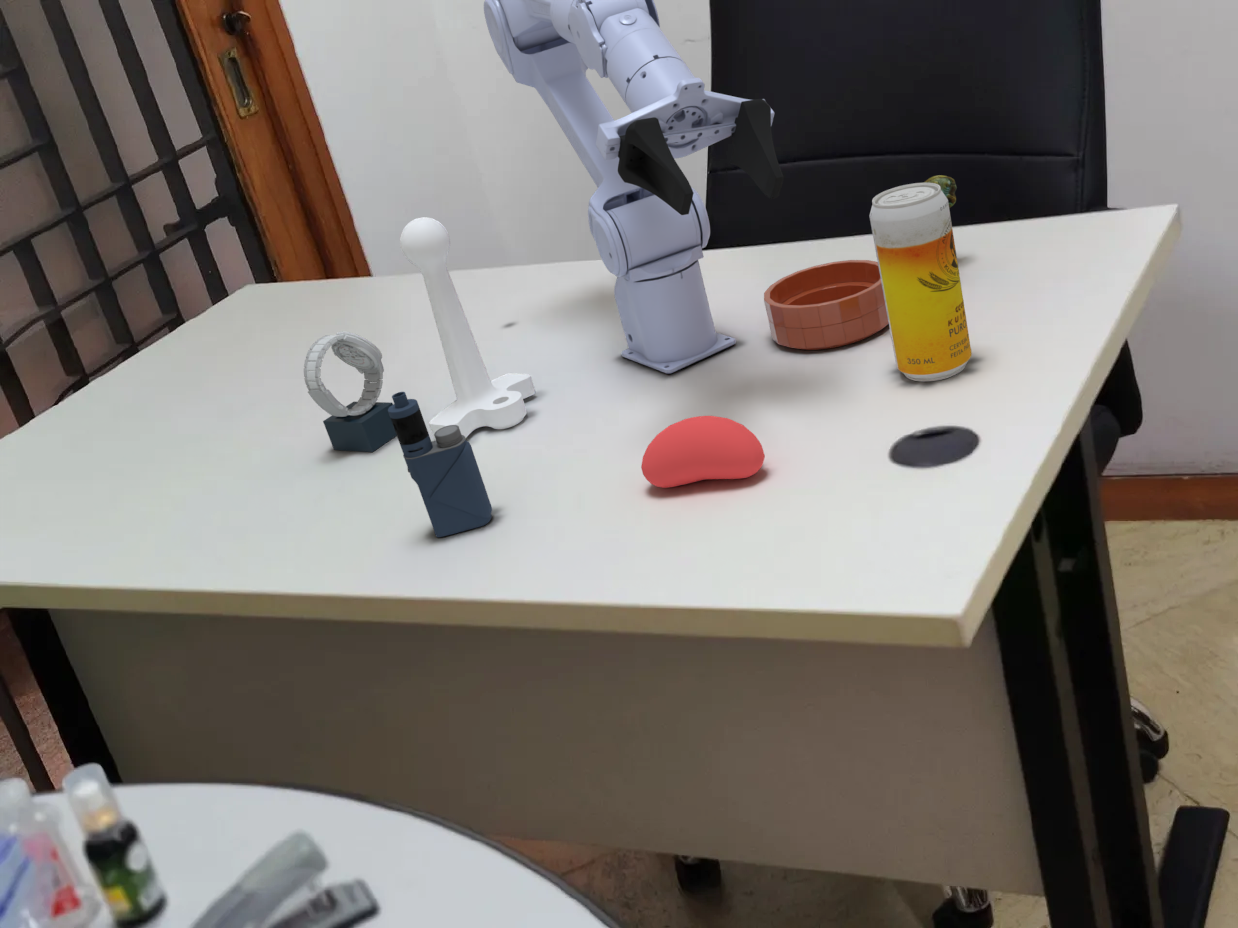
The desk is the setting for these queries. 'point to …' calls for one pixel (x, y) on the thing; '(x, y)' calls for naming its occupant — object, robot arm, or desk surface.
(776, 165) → the robot arm
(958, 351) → the beer can
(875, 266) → the bowl
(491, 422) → the joystick
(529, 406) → the desk surface
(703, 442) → the red kidney bean
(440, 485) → the vaping device
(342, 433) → the watch
